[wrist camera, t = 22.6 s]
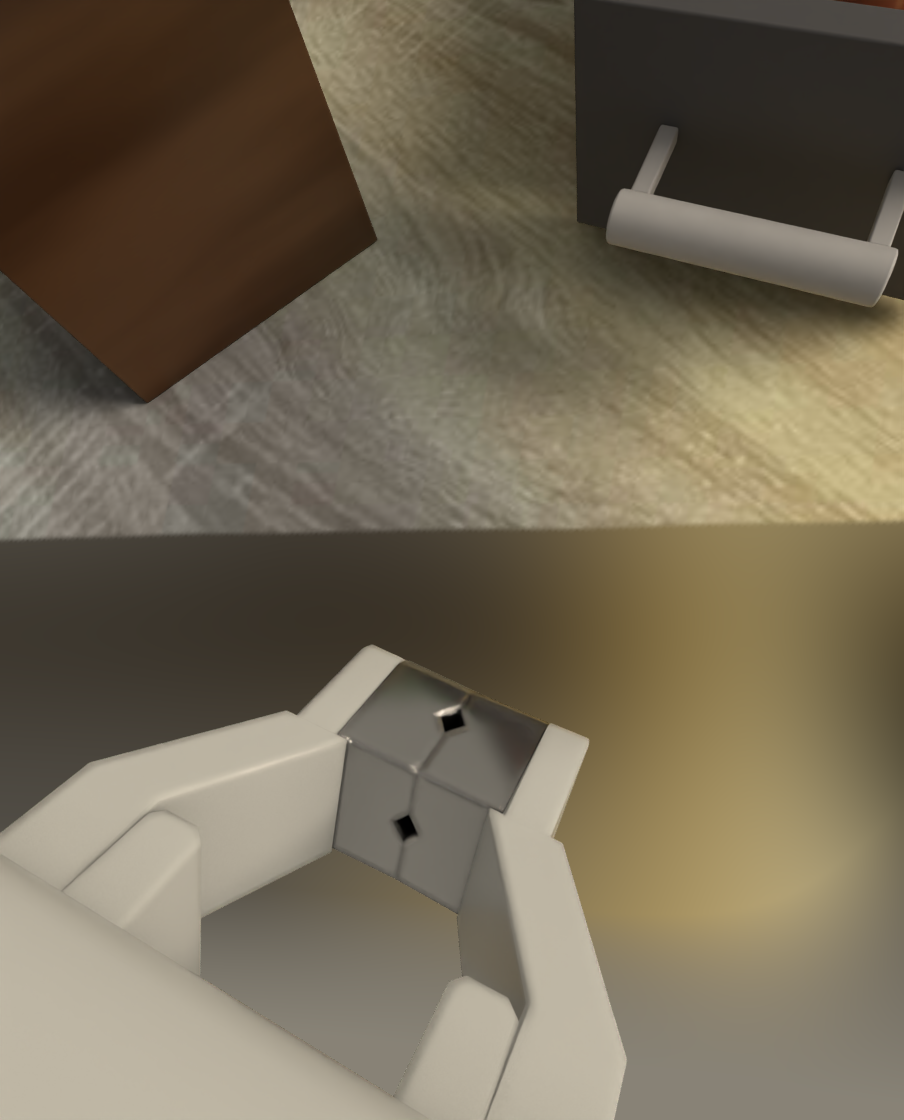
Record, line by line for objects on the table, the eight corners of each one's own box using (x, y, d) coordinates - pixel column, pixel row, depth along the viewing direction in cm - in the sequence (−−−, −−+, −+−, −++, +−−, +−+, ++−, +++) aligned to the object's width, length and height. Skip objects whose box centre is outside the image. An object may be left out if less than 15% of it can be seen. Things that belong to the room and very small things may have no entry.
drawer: (908, 416, 25) (1072, 222, 16) (534, 312, 28) (512, 111, 20) (1044, 3, 29) (1231, -320, 20) (701, -41, 32) (741, -330, 24)
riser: (378, 240, 32) (142, -396, 15) (147, 404, 31) (-371, -64, 14) (245, 91, 36) (-59, -539, 19) (38, 234, 35) (-464, -286, 18)
